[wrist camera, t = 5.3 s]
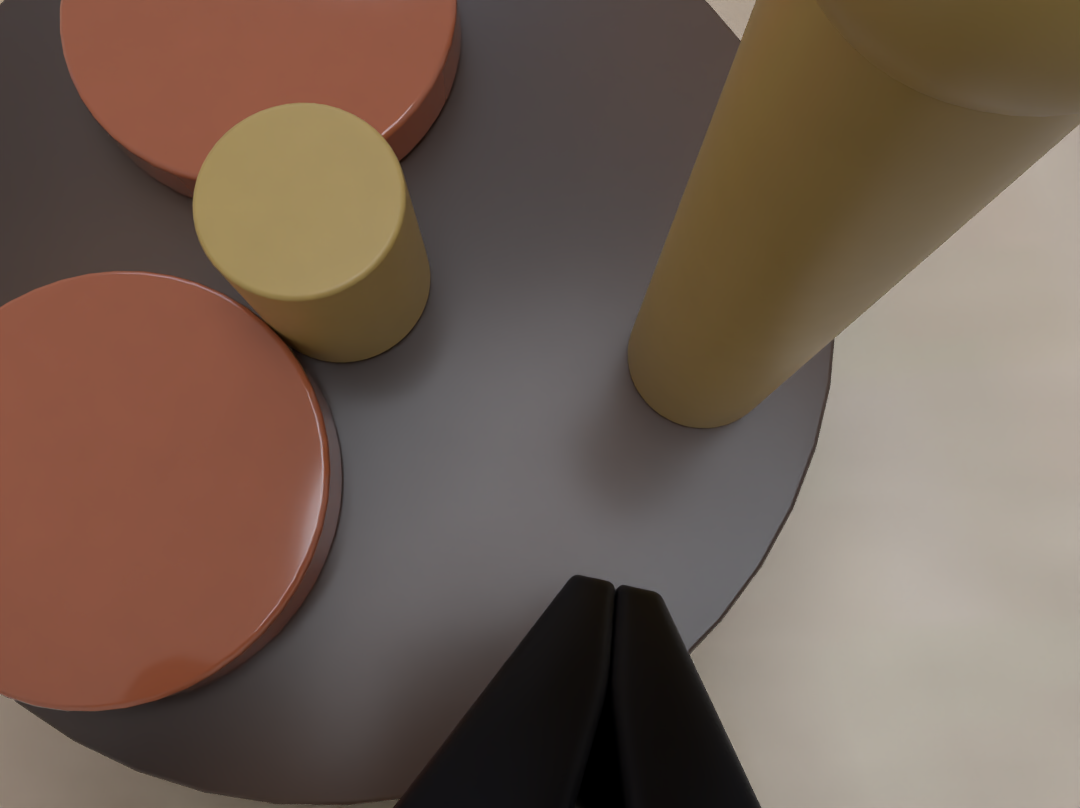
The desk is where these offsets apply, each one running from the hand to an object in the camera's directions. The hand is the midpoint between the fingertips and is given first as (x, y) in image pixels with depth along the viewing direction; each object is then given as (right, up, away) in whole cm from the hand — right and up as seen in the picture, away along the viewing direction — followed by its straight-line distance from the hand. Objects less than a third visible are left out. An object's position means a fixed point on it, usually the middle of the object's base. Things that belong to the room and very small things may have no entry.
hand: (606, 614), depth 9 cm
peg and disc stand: (-4, +4, +6) cm, 8 cm away
